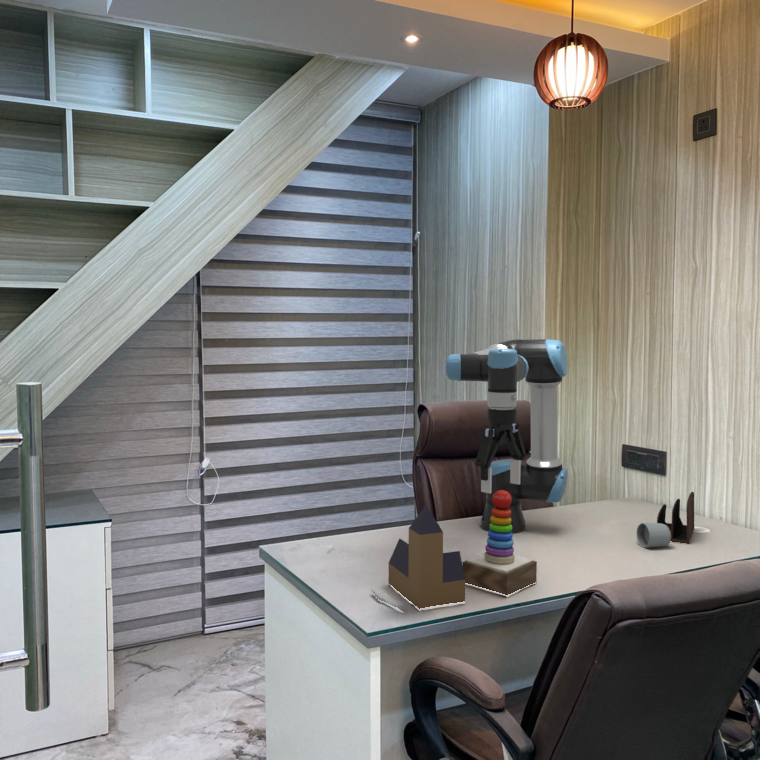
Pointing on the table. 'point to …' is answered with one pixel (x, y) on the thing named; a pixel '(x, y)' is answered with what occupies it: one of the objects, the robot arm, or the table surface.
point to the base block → (500, 574)
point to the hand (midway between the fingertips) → (501, 488)
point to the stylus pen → (383, 597)
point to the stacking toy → (500, 531)
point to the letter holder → (679, 521)
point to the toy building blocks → (426, 566)
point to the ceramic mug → (653, 535)
